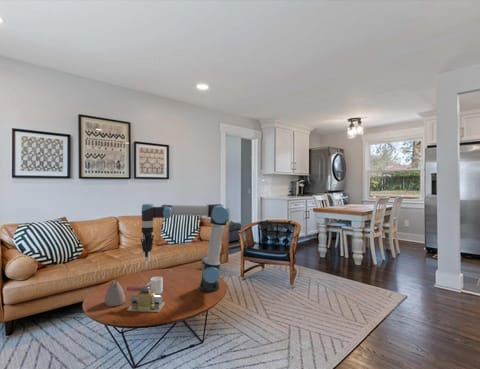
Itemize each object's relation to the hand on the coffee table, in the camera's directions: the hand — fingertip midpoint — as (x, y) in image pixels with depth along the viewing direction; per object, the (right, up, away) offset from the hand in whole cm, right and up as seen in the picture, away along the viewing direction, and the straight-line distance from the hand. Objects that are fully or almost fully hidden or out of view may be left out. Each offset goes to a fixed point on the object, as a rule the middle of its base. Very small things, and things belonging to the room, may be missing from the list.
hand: (147, 261), depth 189 cm
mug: (+1, -26, +11) cm, 28 cm away
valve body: (+3, -27, -11) cm, 29 cm away
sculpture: (-20, -27, -5) cm, 34 cm away
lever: (-2, -16, -10) cm, 19 cm away
